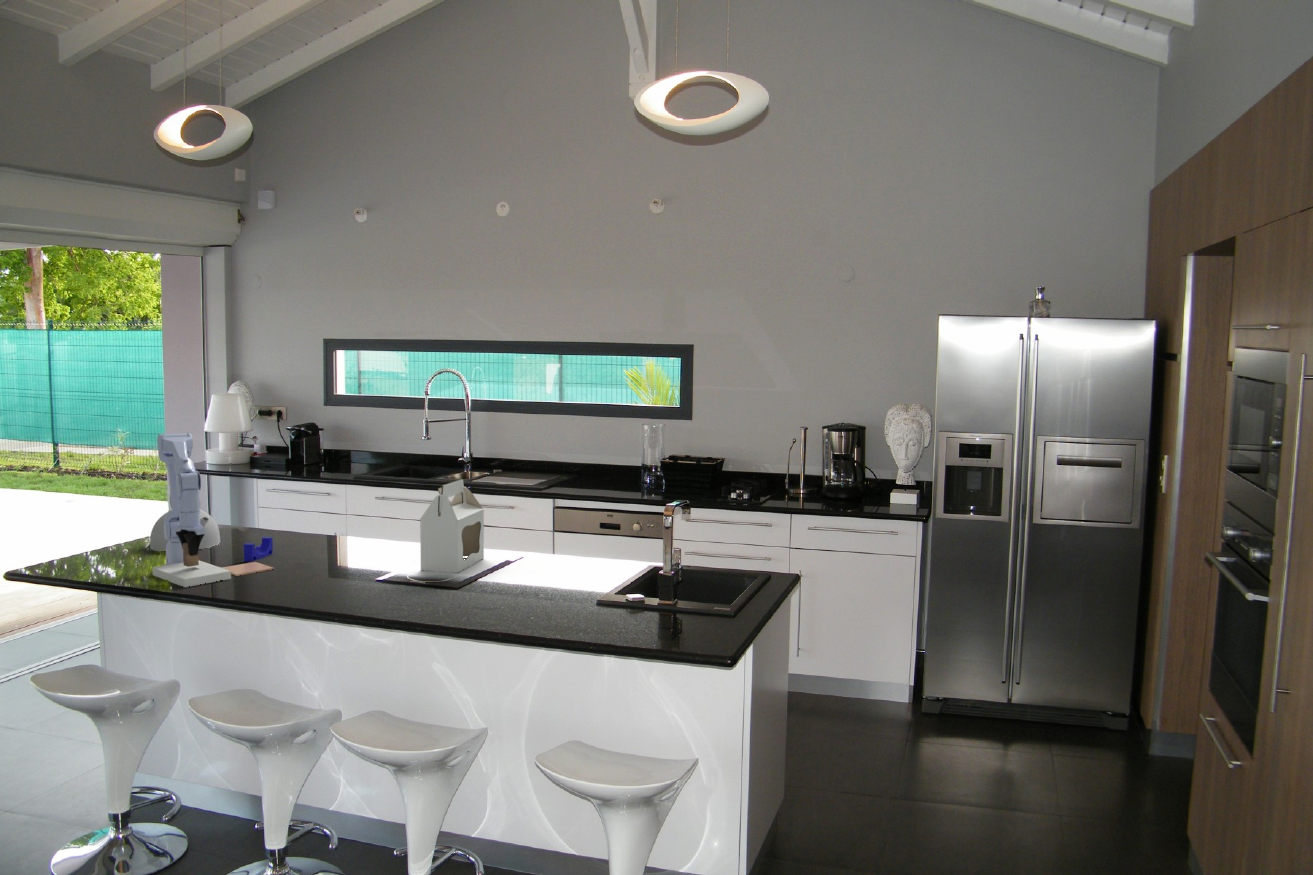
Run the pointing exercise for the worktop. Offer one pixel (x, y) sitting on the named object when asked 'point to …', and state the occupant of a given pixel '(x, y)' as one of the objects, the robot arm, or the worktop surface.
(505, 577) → the worktop surface
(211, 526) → the kettle
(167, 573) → the board
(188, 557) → the walnut peg
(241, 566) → the terracotta tile
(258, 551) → the cable clip
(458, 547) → the gable box
